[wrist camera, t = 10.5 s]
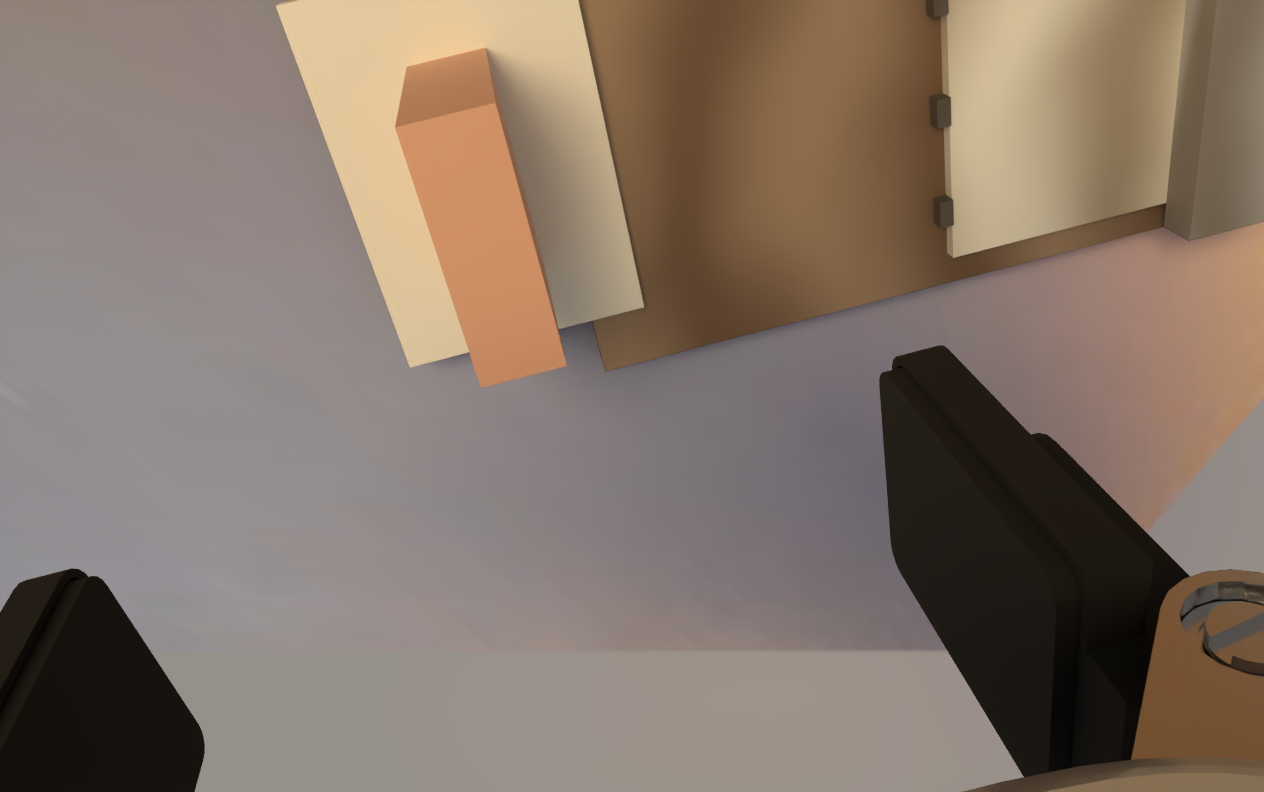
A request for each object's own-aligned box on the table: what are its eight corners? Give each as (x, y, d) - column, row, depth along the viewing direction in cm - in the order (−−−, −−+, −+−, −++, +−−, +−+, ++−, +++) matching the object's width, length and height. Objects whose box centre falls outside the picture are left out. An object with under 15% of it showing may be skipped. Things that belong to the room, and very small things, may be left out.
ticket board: (1405, -363, 24) (1511, -387, 22) (1311, 169, 31) (1382, 196, 29) (476, -144, 23) (479, -143, 21) (599, 353, 30) (613, 397, 28)
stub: (563, -65, 23) (598, -37, 18) (641, 301, 28) (688, 411, 23) (278, 3, 23) (224, 52, 17) (410, 361, 28) (401, 486, 23)
